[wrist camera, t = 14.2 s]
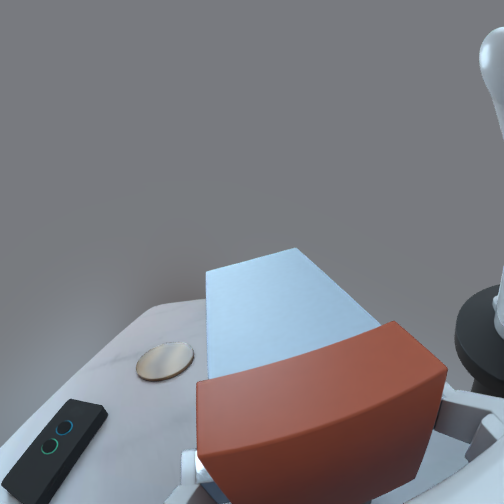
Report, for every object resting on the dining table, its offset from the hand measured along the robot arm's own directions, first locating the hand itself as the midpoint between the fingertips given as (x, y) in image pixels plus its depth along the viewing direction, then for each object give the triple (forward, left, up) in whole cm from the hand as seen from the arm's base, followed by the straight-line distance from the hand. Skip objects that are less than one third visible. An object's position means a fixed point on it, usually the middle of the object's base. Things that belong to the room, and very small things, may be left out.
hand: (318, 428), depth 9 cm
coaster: (+16, -33, -17) cm, 41 cm away
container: (0, -4, -3) cm, 6 cm away
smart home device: (+31, -14, -17) cm, 38 cm away
